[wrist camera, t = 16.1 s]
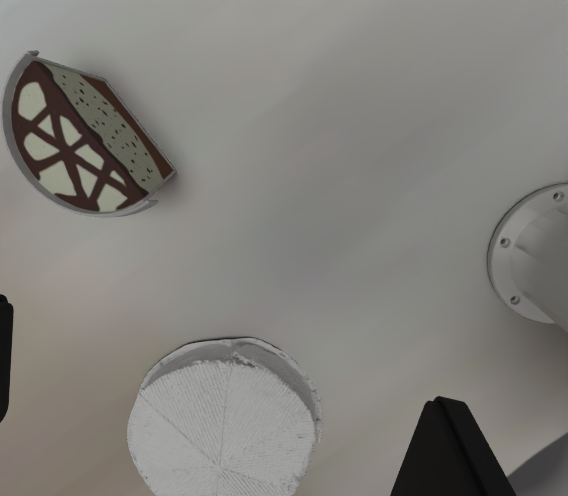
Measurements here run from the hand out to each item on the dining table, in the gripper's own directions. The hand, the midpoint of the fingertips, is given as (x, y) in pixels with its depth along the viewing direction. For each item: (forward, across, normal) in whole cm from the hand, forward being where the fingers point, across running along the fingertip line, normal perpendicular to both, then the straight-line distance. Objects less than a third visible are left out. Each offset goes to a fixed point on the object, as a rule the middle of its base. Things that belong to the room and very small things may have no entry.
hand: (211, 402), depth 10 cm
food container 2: (+31, 0, +25) cm, 40 cm away
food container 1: (+31, +15, 0) cm, 34 cm away
